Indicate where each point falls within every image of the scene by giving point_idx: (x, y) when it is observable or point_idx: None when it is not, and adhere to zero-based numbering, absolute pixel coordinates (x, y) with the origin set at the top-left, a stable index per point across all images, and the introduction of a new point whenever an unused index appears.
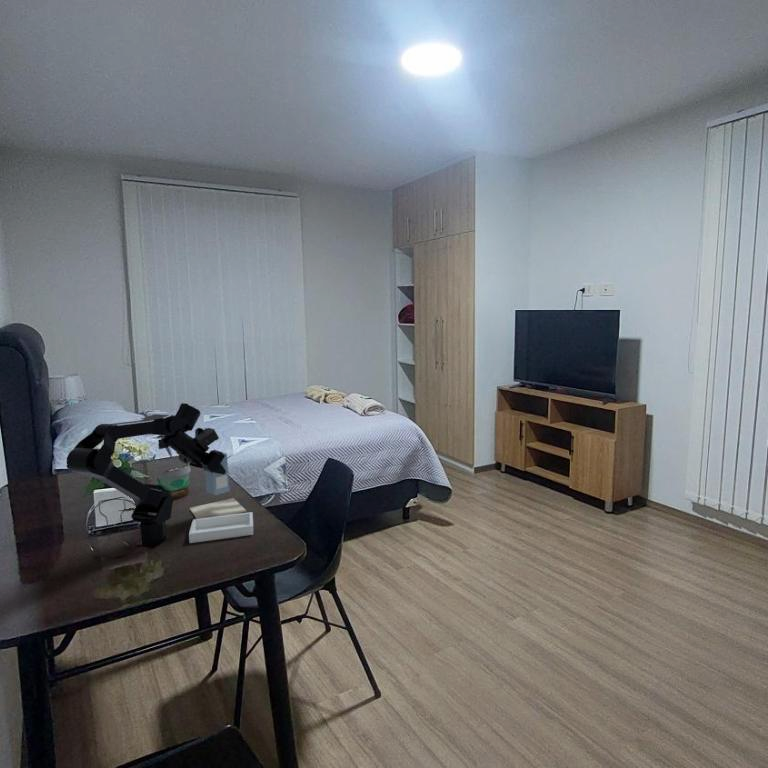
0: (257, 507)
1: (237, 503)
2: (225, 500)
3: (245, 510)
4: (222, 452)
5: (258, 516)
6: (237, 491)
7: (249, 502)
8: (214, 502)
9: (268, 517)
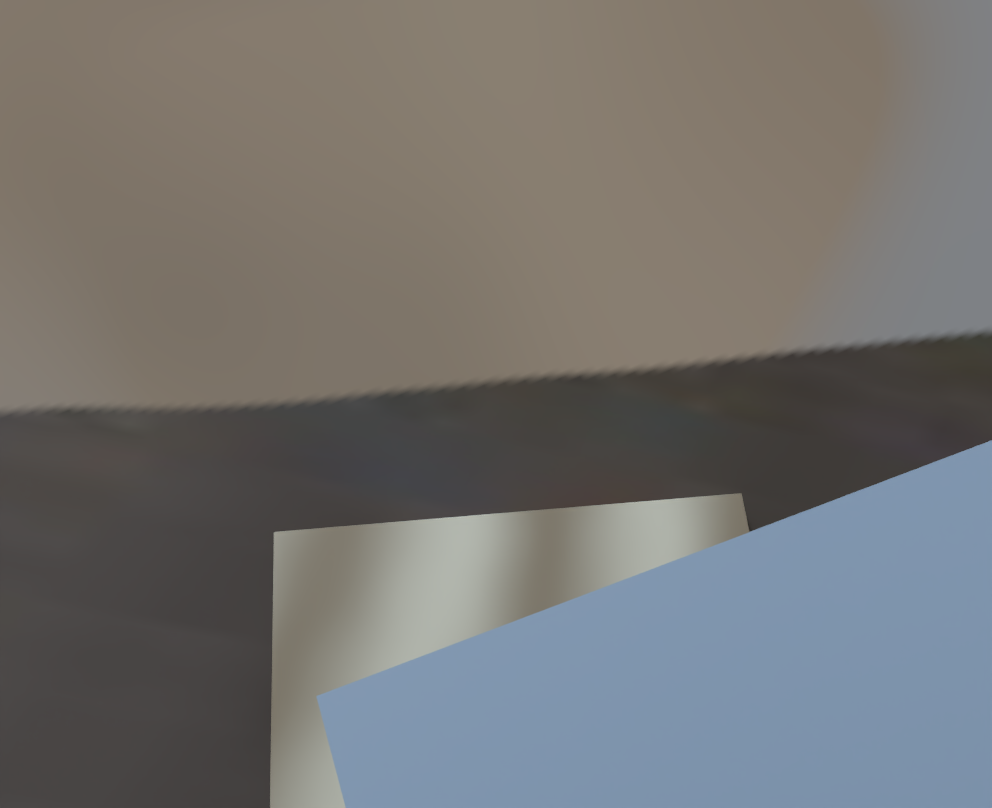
0: (604, 378)
1: (474, 530)
2: (294, 629)
3: (726, 501)
4: (809, 557)
5: (840, 423)
6: (4, 441)
7: (423, 410)
8: (279, 765)
9: (901, 356)
